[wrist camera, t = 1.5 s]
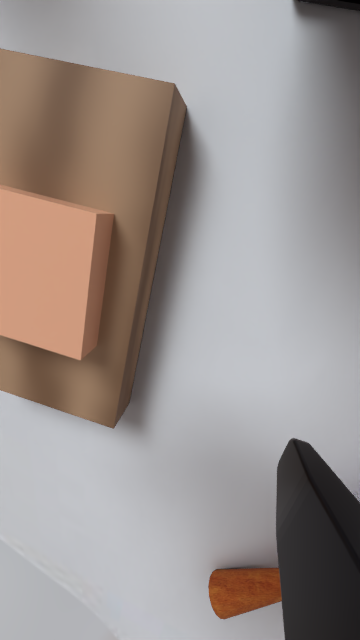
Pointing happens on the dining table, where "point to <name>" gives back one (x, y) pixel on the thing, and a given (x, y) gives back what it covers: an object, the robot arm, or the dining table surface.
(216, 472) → the dining table surface
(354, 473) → the dining table surface
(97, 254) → the coaster
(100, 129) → the board
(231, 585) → the kendama
